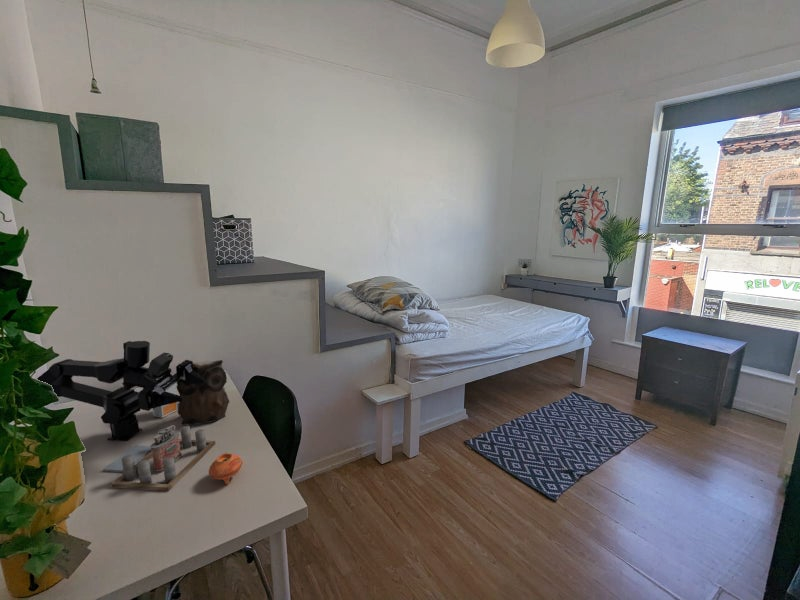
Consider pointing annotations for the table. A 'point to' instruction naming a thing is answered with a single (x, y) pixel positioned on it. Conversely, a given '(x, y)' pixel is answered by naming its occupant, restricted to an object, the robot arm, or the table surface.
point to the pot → (225, 467)
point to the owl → (204, 394)
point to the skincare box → (166, 406)
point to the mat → (136, 451)
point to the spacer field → (168, 464)
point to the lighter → (165, 447)
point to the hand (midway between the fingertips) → (194, 390)
